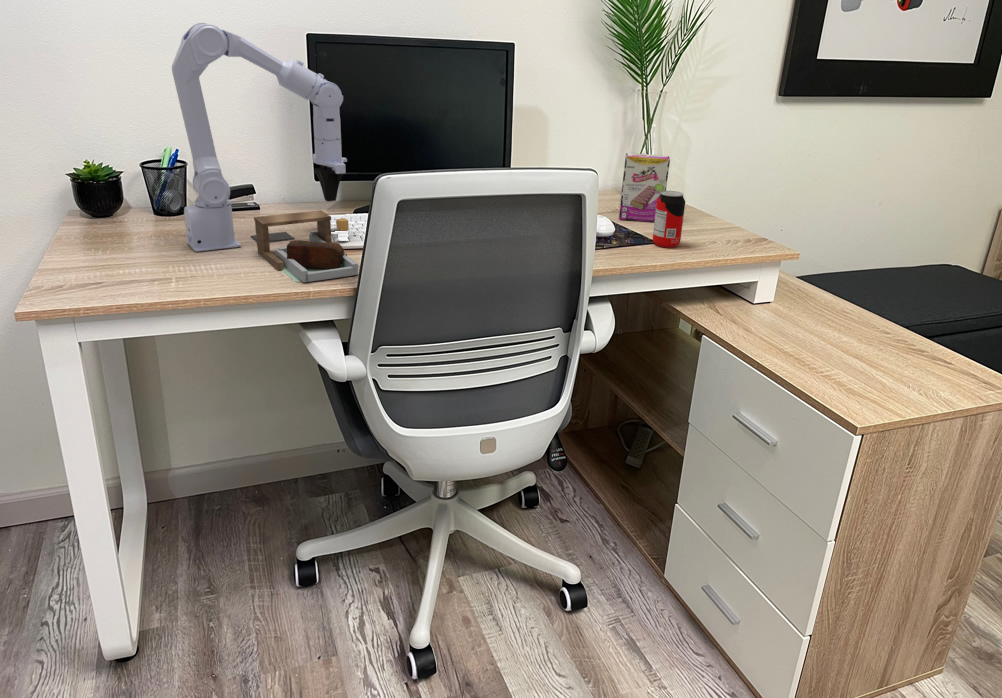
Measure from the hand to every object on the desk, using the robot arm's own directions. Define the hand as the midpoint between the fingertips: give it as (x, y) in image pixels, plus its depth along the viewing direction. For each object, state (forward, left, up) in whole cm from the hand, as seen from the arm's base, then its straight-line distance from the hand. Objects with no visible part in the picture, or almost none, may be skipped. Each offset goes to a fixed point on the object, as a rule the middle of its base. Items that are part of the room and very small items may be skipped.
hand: (330, 200), depth 175 cm
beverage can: (+65, -41, -8) cm, 77 cm away
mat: (-12, -24, -8) cm, 27 cm away
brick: (-12, -22, -8) cm, 26 cm away
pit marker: (-13, +3, -8) cm, 15 cm away
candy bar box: (+76, -20, -8) cm, 79 cm away
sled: (-8, -18, -8) cm, 21 cm away
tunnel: (-12, -13, -8) cm, 20 cm away
